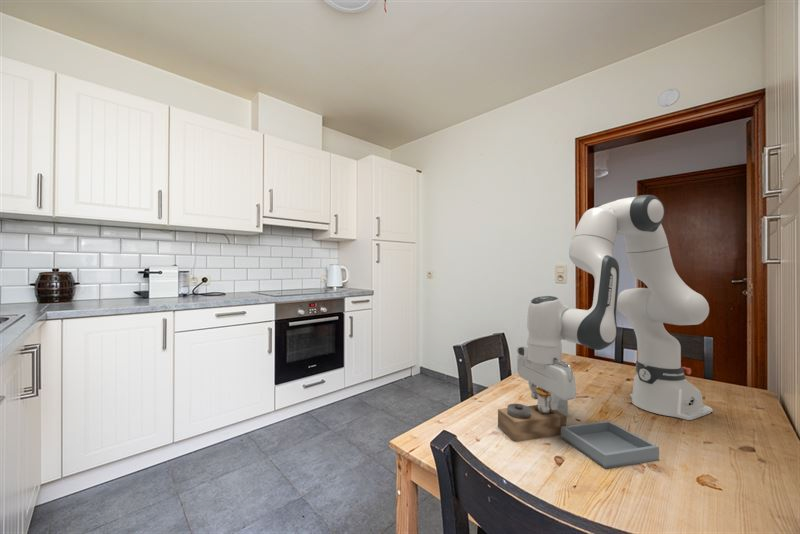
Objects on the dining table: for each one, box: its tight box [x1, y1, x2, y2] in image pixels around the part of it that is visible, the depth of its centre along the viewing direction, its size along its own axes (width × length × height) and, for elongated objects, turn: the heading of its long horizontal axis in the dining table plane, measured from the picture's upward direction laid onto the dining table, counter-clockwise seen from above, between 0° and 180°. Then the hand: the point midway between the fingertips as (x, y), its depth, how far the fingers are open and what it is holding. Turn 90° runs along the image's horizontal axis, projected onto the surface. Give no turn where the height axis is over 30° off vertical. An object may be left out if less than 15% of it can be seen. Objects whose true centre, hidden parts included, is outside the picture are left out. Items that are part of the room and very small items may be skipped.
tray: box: [560, 420, 660, 470], centre depth 80 cm, size 16×14×3 cm
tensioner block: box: [497, 403, 567, 443], centre depth 89 cm, size 16×8×7 cm, turn 104°
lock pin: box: [536, 386, 551, 415], centre depth 90 cm, size 4×4×11 cm
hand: (543, 403), depth 90 cm, fingers open, 6 cm apart
